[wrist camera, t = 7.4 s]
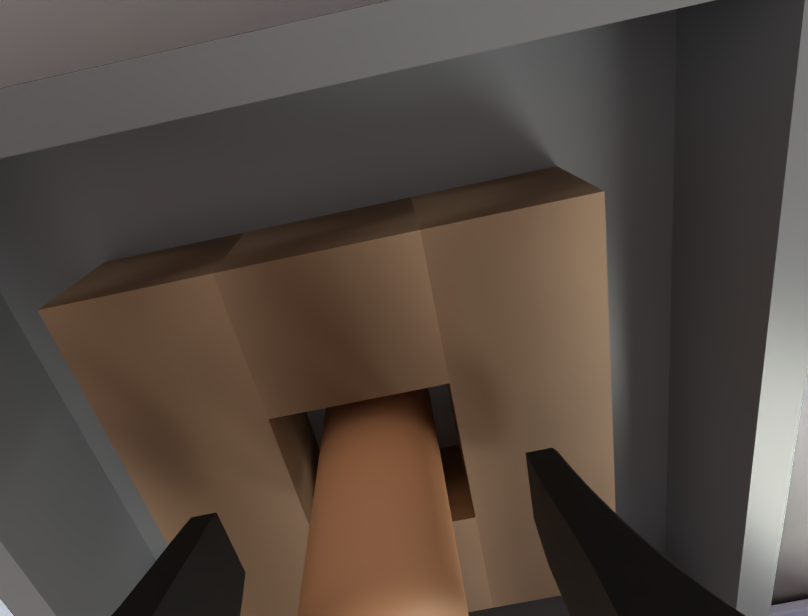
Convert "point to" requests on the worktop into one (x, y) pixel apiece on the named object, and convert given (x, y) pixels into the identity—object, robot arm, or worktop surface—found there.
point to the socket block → (358, 366)
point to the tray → (421, 174)
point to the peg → (381, 515)
